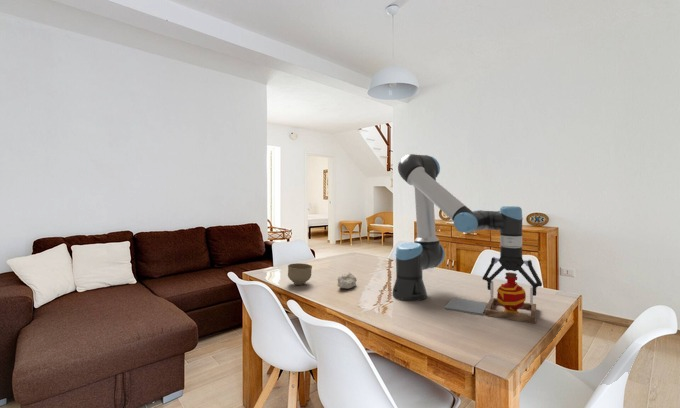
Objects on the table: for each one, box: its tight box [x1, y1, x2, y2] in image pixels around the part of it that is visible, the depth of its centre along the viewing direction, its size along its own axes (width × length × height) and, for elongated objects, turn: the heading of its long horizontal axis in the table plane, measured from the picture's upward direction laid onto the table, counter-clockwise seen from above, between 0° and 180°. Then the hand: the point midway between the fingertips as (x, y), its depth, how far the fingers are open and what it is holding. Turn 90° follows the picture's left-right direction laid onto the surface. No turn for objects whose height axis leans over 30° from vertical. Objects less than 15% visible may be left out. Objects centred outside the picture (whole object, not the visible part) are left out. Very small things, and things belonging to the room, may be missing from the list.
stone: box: [337, 272, 357, 289], centre depth 163 cm, size 8×12×10 cm, turn 155°
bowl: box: [287, 262, 313, 286], centre depth 170 cm, size 13×13×10 cm
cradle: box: [484, 297, 537, 324], centre depth 126 cm, size 16×16×2 cm
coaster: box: [444, 297, 488, 316], centre depth 133 cm, size 14×14×1 cm
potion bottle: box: [496, 271, 527, 314], centre depth 126 cm, size 10×10×15 cm
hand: (511, 300), depth 126 cm, fingers open, 13 cm apart
